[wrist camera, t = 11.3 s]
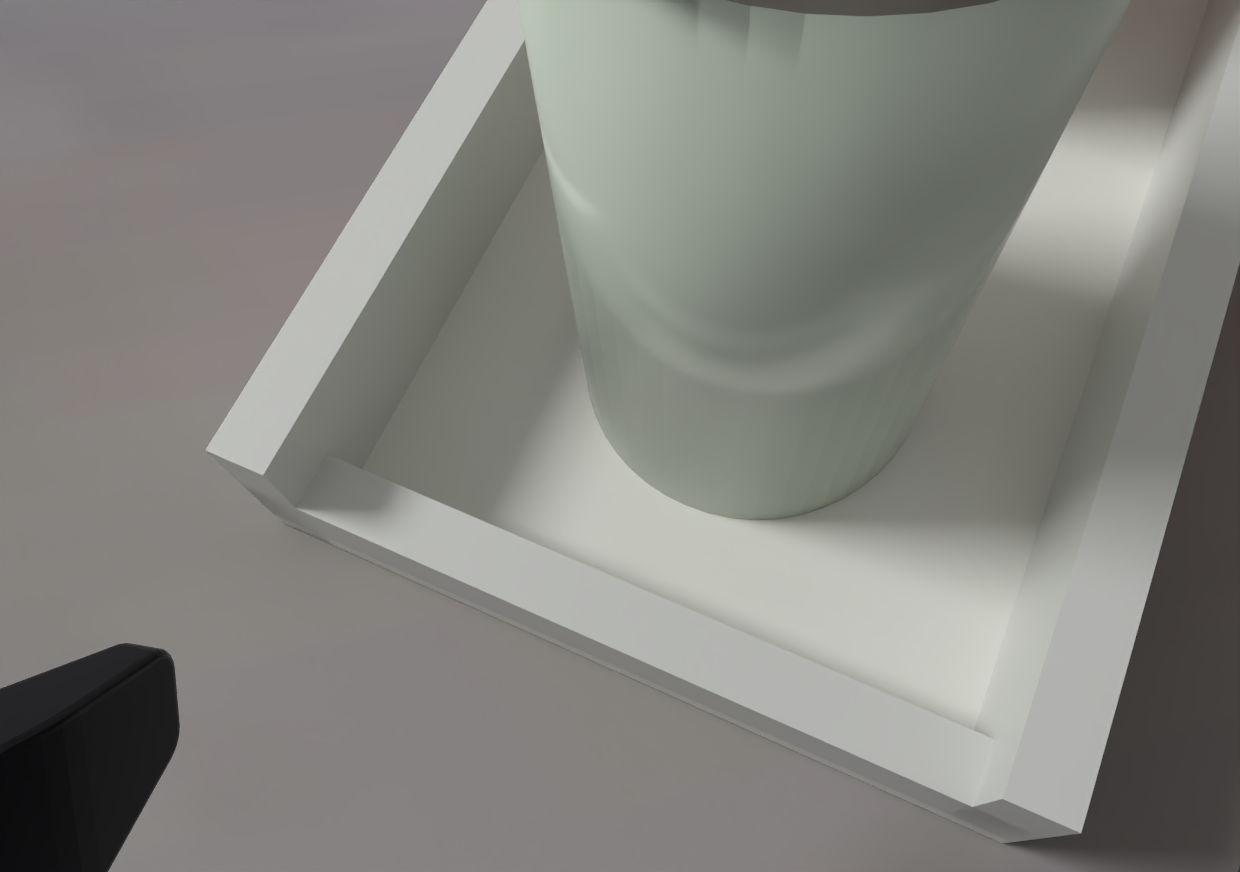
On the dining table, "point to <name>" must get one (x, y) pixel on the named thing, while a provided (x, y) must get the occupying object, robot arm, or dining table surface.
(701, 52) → the sage jar
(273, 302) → the dining table surface
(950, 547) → the tray
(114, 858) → the robot arm
